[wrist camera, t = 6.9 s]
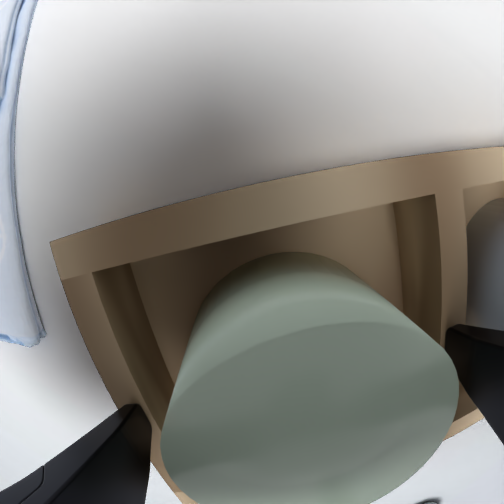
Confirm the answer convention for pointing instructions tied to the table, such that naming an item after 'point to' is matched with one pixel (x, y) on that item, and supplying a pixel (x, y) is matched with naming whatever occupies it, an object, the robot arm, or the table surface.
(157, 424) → the divided wooden tray
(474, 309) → the pale blue rounded cylinder
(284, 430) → the sage green cylinder
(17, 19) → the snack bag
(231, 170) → the table surface
